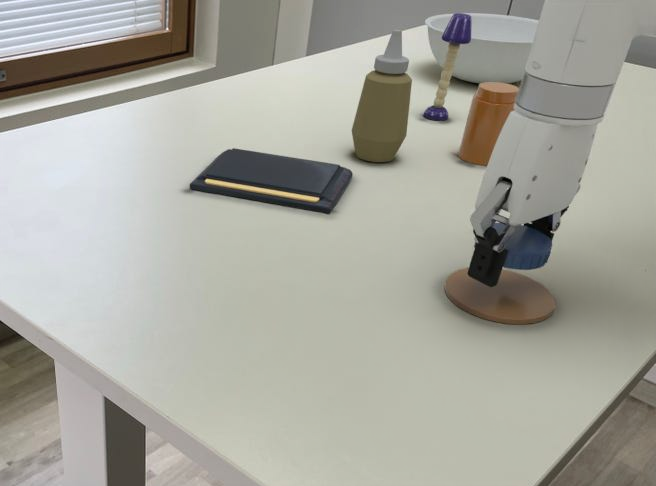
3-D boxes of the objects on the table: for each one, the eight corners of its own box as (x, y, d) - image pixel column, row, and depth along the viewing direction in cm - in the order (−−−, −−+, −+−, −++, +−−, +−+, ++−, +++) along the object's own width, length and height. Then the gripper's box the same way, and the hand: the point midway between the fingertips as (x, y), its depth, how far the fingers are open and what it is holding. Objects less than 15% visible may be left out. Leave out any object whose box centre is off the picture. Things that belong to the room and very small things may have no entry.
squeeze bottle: (388, 170, 106) (413, 39, 96) (338, 157, 110) (358, 30, 99) (409, 155, 111) (436, 30, 101) (361, 143, 115) (382, 22, 105)
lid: (459, 248, 75) (464, 231, 74) (502, 233, 78) (507, 217, 77) (518, 276, 70) (524, 259, 69) (561, 259, 73) (567, 243, 72)
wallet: (357, 163, 103) (330, 202, 92) (355, 175, 104) (328, 215, 93) (226, 141, 109) (186, 175, 98) (225, 153, 111) (186, 188, 99)
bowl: (412, 89, 142) (423, 35, 136) (416, 57, 163) (426, 9, 157) (561, 104, 135) (579, 47, 130) (545, 69, 157) (561, 19, 151)
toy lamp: (442, 112, 130) (466, 11, 120) (456, 120, 126) (482, 16, 116) (418, 114, 129) (440, 12, 119) (432, 122, 125) (456, 17, 115)
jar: (509, 159, 111) (531, 88, 105) (486, 168, 108) (507, 95, 101) (473, 147, 115) (491, 78, 109) (449, 156, 112) (467, 85, 105)
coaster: (573, 301, 76) (575, 296, 76) (517, 336, 71) (519, 331, 70) (481, 262, 83) (482, 257, 83) (423, 291, 78) (425, 286, 77)
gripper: (579, 75, 71) (523, 238, 82) (465, 99, 63) (420, 277, 74) (654, 94, 66) (585, 265, 77) (542, 123, 58) (481, 310, 69)
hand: (505, 270), depth 75 cm, fingers closed on lid, 7 cm apart
